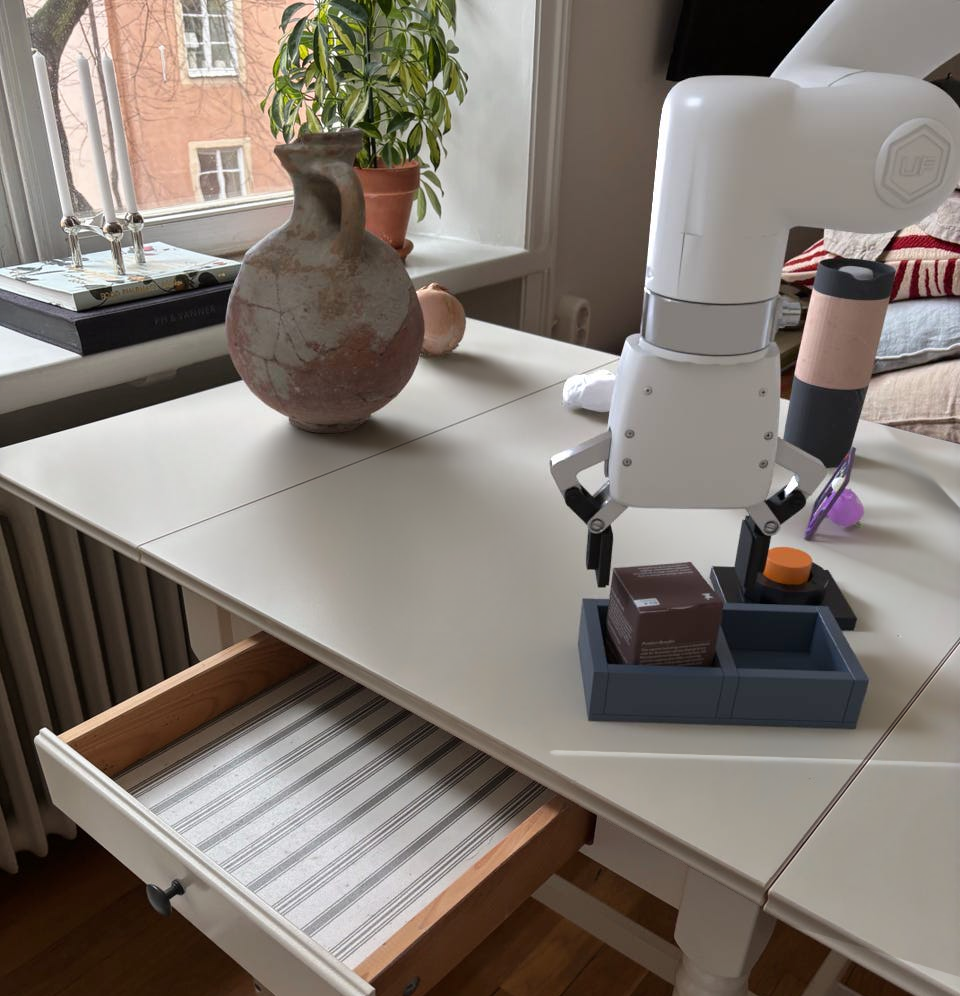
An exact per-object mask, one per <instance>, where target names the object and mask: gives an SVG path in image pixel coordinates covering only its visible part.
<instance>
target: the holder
mask: <svg viewBox="0 0 960 996" xmlns="http://www.w3.org/2000/svg"><path fill="white" fill-rule="evenodd" d="M608 606H609V598H586V597H582V599H581V609H580V618H579V630H578V638H577V650H578V656H579V657H578V658H579V664H580V671H581V678H582V686H583V694H584V700H585V708H586V709H585V710H586V715H587V721H588V722H609V723H640V724H641V723H642V724H643V723H644V724H669V725H670V724H672V725H674V724H677V725H707V726H736V727H737V726H739V727H765V728H766V727H770V728H772V727H773V728H802V729H832V730H833V729H837V730H856V727H857V724H858V721H859V717H860V714H861V712H862V711H861V710H862V707H863V704H864V701H865V696H866V694H867V690H868V687H869V684H870V679H869V677H868V675H867V673H866V671H865V670H864V668H863V666H862V665H861V662H860V661H859V660H858V658H857V655H856V654H855V652H854V650H853V649H852V647H851V645H850V643H849V641H848V640H847V638H846V636H845V633H843V630H841V629H840V627H839V625H838V623H837V622H836V620H835V618H834V616H833V615H832V613H831V611H830V609H829V607H828V606H804V605H773V604H742V603H724V606H723V611H722V619H721V624H720V628H719V633H718V638H717V644H716V649H715V655H714V661H713V666H712V667H681V666H650V665H619V664H608V662H607V660H606V654H605V648H604V639H605V630H606V622H607V614H608Z"/></svg>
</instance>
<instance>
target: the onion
mask: <svg viewBox="0 0 960 996" xmlns="http://www.w3.org/2000/svg"><path fill="white" fill-rule="evenodd" d="M415 290H416V289H415ZM416 293H417V296H418V299H419V302H420V305H421V308H422V312H423V317H424V324H425V334H424V342H423V346H422V351H421V354H420V356H423V357H425V358H429V356H430V357H437V356H443V357H445V354H446V353H447V354H448V355H450V354H453V351H454V350H457V348H458V347H460V342H462V340H463V338H464V335H465V332H466V329H467V328H466V327H467V319H466V313H465V309H464V307H463V305H462V303H461V302H460V301H459V300H458V299H457V297H455V296H454V295H453V294H452V293H451V292H450V291H449V289H448V288H446V287H445V286H444V285H442V284H441V283H438V282H432V283H431V284H430V285H429V284H427V285H424V287H421V288H419V289H417V290H416Z"/></svg>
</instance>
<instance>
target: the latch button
mask: <svg viewBox="0 0 960 996" xmlns="http://www.w3.org/2000/svg"><path fill="white" fill-rule="evenodd" d="M812 562H813V558H812V556H811V555H810V554H808V553H807V552H806V551H803V550H801V549H798V548H795V547H790V546H775V547H772V548H769V551H768V557H767V562H766V567H765V571H764V572H763V575H764V576H766V577H767V578H769V579H770V580H772V581H775V582H779V583H783V584H796V585H800V584H804V583H806V582H807V581H808V578H809V574H810V570H811V566H812Z"/></svg>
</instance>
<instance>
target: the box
mask: <svg viewBox="0 0 960 996" xmlns="http://www.w3.org/2000/svg"><path fill="white" fill-rule="evenodd" d="M608 597H609V598H608V599H609V606H608V614H607V622H606V630H605V639H604V648H605V654H606V660H607V662H608V664H619V665H650V666H681V667H712V666H713V661H714V655H715V649H716V644H717V638H718V633H719V628H720V624H721V619H722V611H723V606H724V603H723V601H722V600H721V599H720V597H719V596H718V595H717V594H716V593H715V591H714V588H713V587H711V585H710V584H709V582H708V581H707V580H706V579H705V577H704V576H703V575H702V574H701V572H700V571H699V570H698V569H697V568H696V566H695V565H694V564H693V563H692V562H691V561H686V562H675V563H663V564H662V563H661V564H650V565H649V564H648V565H635V566H622V567H621V566H620V567H613V568H612V574H611V582H610V590H609V596H608Z"/></svg>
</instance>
